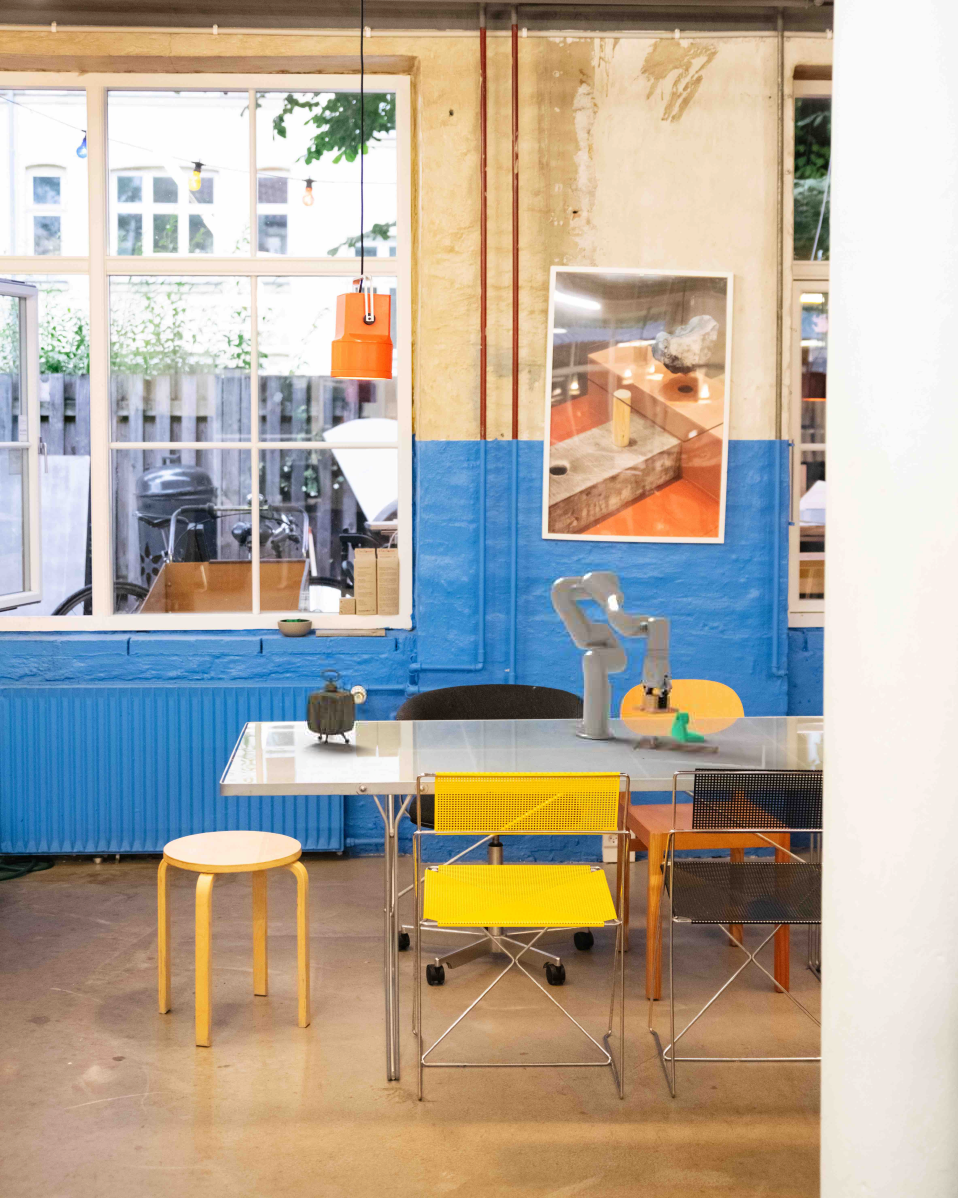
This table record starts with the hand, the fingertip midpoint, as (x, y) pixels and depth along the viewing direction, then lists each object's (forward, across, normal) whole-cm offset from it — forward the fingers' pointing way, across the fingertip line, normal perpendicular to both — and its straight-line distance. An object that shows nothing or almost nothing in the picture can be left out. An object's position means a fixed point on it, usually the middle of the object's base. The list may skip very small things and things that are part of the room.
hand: (655, 706), depth 388 cm
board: (+15, +5, +6) cm, 16 cm away
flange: (+2, 0, 0) cm, 2 cm away
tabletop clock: (+14, -47, -99) cm, 111 cm away
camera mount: (+15, -8, +20) cm, 27 cm away
